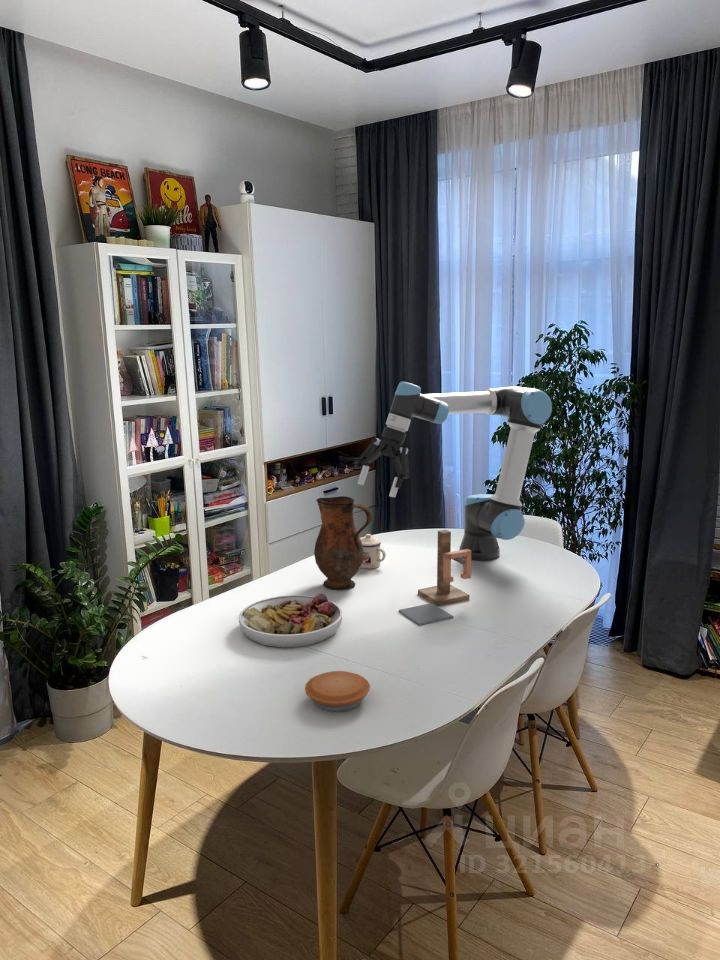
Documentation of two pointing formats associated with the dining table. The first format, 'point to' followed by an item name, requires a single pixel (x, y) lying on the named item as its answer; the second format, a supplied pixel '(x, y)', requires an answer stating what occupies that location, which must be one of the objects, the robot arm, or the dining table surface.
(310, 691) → the pie
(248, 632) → the bowl
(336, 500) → the pitcher
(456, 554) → the c link
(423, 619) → the coaster
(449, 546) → the hook stand
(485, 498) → the robot arm
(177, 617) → the dining table surface
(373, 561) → the teacup with lid
